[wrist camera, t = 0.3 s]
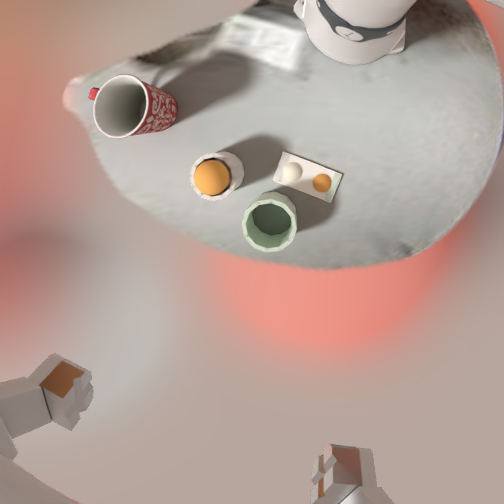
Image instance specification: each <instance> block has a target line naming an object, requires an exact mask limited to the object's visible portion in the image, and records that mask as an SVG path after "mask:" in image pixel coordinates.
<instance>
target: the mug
mask: <svg viewBox="0 0 504 504" xmlns="http://www.w3.org/2000/svg"><path fill="white" fill-rule="evenodd" d="M89 99H91V100H94V107H93V115H94V120H95V123H96V125H97V127H98V129H99V130H100V131H101V132H102V133H103V134H104V135H106V136H108V137H110V138H114V139H121V138H125V137H128V136H133V135H139V134H146V133H153V132H160V131H163V130H165V129H167V128H168V127H170V126H171V125H172V123H173V122H174V120H175V118H176V115H177V104H176V101H175V100H174V98H173V97H172V96H171V95H170V94H168V93H167V92H164V91H162V90H160V89H158V88H156V87H153V86H151V85H149V84H147V83H145V82H143V81H141V80H140V79H138V78H137V77H135V76H133V75H128V74H122V75H117V76H114V77H112V78H111V79H109V80H108V81H107V82H106V83H104V85H103V86H102V87H101V88H100V89H99V88H92V89H91V90H90V93H89Z"/></svg>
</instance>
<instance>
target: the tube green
mask: <svg viewBox="0 0 504 504" xmlns="http://www.w3.org/2000/svg"><path fill="white" fill-rule="evenodd" d="M268 203H272V204H275V205H277V206H280V207H283V208H284V210H285V211H286V212H287V213H288V214H289V216H290V217H291V222H292V223H291V225H290V228H288V229H287V230H286V231H285V232H283V233H282V234H277V235H269V234H266V233H263V232H261V231H260V230H259V229H258V228H257V226H256V225H255V224H254V220H253V215H252V213H253V210H254V209H255V208H256V207H257V206H258V205H262V204H268ZM241 224H242V229H243V233H244V237H245V238H246V239H247V241H248V242H249V243H250V244H251V245H252V246H253V247H254V248H256V249H259V250H262V251H264V252H274V251H281V250H282V249H283V248H285V247H286V246H287V245H289V244H290V243H291V242H292V240H293V238H294V235H295V233H296V230H297V214H296V208H295V205H294V204H293V203H292V201H291V200H290V199H289V198H288V197H287V196H286V195H283V194H280V193H278V192H268V193H262V194H261V195H260V196H259V197H257V198H256V199H255V200H254V201H253V202H252V203H251V204H250V206H249V207H248V208H247V209H246V212H245V214H244V217H243V220H242V223H241Z"/></svg>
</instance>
